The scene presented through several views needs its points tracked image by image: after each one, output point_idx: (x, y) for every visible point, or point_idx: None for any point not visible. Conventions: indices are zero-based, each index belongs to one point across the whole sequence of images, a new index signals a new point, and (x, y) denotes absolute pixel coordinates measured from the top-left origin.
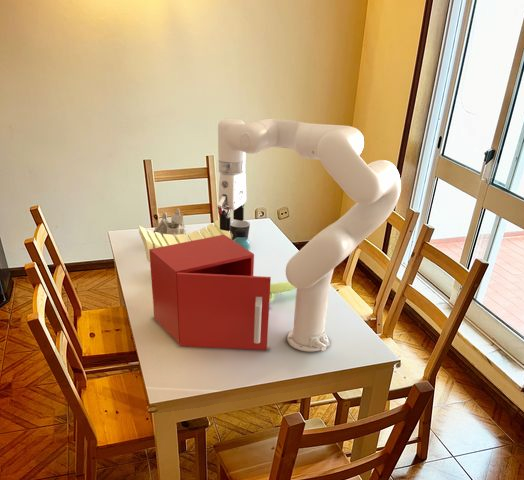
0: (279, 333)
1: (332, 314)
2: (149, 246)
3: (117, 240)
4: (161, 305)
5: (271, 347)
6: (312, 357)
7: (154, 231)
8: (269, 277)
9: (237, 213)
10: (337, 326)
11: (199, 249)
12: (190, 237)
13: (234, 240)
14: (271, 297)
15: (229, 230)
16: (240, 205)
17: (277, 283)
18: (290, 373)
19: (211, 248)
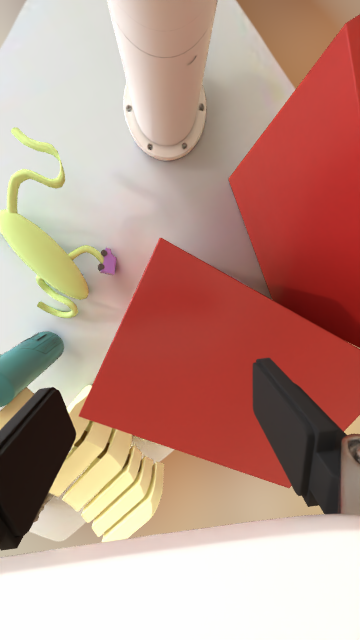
0: (169, 184)
1: (32, 109)
2: (158, 495)
3: (77, 526)
4: None
5: (219, 173)
6: (214, 72)
7: (37, 519)
8: (355, 24)
9: (43, 456)
10: (72, 71)
11: (229, 407)
12: None
13: (1, 402)
14: (84, 249)
15: (269, 358)
16: (118, 572)
17: (35, 259)
18: (281, 92)
19: (202, 386)
